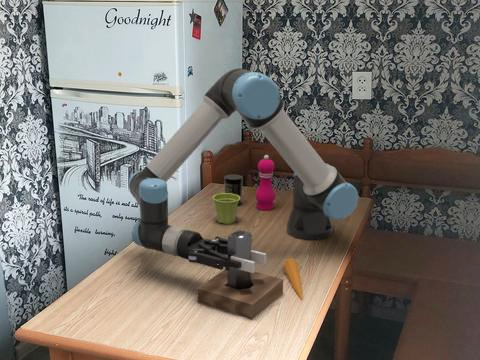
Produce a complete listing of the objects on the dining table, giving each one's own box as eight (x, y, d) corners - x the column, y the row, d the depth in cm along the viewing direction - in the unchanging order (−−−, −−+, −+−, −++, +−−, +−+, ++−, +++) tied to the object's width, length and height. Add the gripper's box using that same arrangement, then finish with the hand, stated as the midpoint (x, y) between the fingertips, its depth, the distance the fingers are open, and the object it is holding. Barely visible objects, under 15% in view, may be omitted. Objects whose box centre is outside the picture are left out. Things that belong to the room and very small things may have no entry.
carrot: (284, 271, 170) (279, 259, 169) (299, 265, 170) (294, 253, 168) (297, 312, 152) (291, 299, 150) (314, 306, 152) (308, 292, 150)
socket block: (197, 302, 151) (197, 288, 150) (230, 278, 164) (231, 265, 163) (252, 319, 143) (252, 304, 142) (282, 293, 156) (283, 279, 155)
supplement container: (239, 207, 220) (239, 180, 217) (222, 205, 222) (222, 178, 219) (244, 201, 226) (244, 175, 223) (227, 200, 228) (227, 173, 225)
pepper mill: (273, 211, 216) (274, 158, 210) (253, 210, 217) (254, 156, 211) (276, 205, 223) (277, 153, 217) (257, 203, 224) (258, 152, 218)
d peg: (227, 294, 152) (227, 236, 148) (237, 286, 156) (238, 229, 152) (244, 299, 150) (245, 240, 145) (254, 291, 154) (255, 233, 149)
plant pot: (234, 215, 212) (234, 191, 209) (243, 224, 204) (244, 200, 201) (209, 218, 209) (209, 194, 206) (217, 227, 200) (217, 203, 198)
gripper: (202, 245, 168) (276, 264, 156) (162, 268, 153) (240, 291, 141) (202, 220, 165) (277, 237, 154) (161, 241, 151) (241, 262, 139)
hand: (259, 263), depth 148 cm, fingers closed on d peg, 5 cm apart
